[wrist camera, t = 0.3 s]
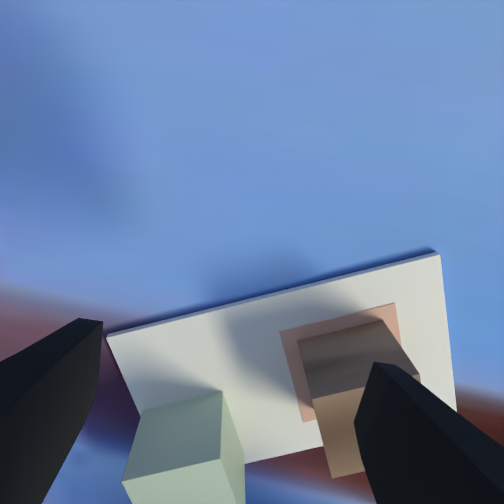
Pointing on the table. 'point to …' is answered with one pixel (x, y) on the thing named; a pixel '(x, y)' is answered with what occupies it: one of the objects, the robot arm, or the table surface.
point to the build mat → (285, 349)
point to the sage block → (186, 455)
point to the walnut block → (346, 384)
